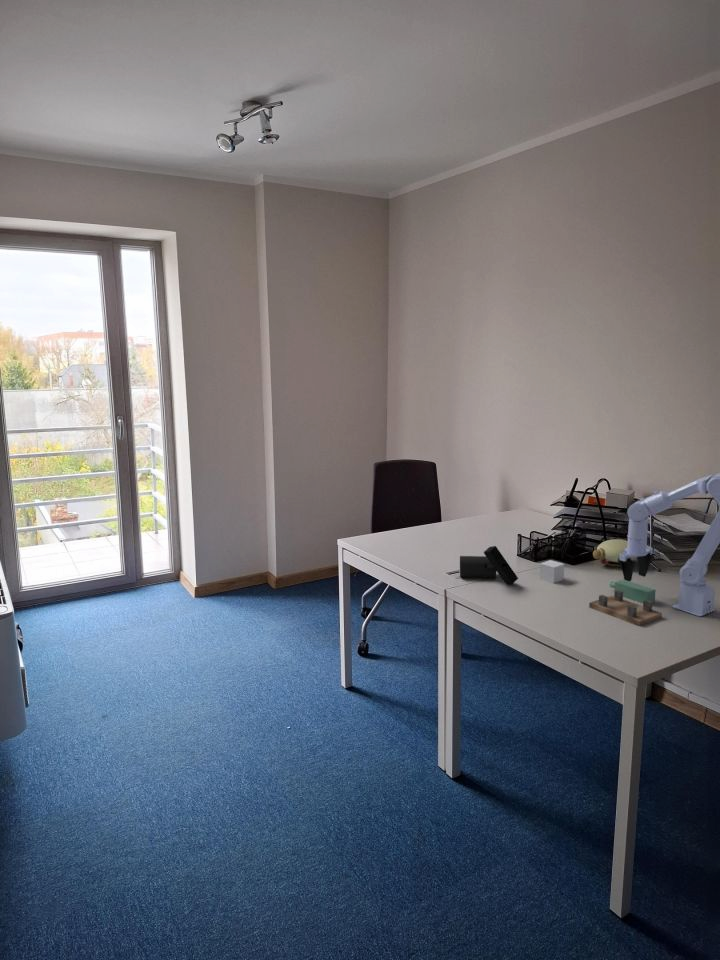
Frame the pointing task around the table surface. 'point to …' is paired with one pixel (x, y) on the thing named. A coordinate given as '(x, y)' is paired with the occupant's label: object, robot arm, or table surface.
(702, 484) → the robot arm
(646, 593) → the green bottle
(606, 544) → the cream rounded piece
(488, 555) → the track light
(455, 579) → the table surface
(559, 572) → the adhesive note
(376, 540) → the table surface
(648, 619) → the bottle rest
